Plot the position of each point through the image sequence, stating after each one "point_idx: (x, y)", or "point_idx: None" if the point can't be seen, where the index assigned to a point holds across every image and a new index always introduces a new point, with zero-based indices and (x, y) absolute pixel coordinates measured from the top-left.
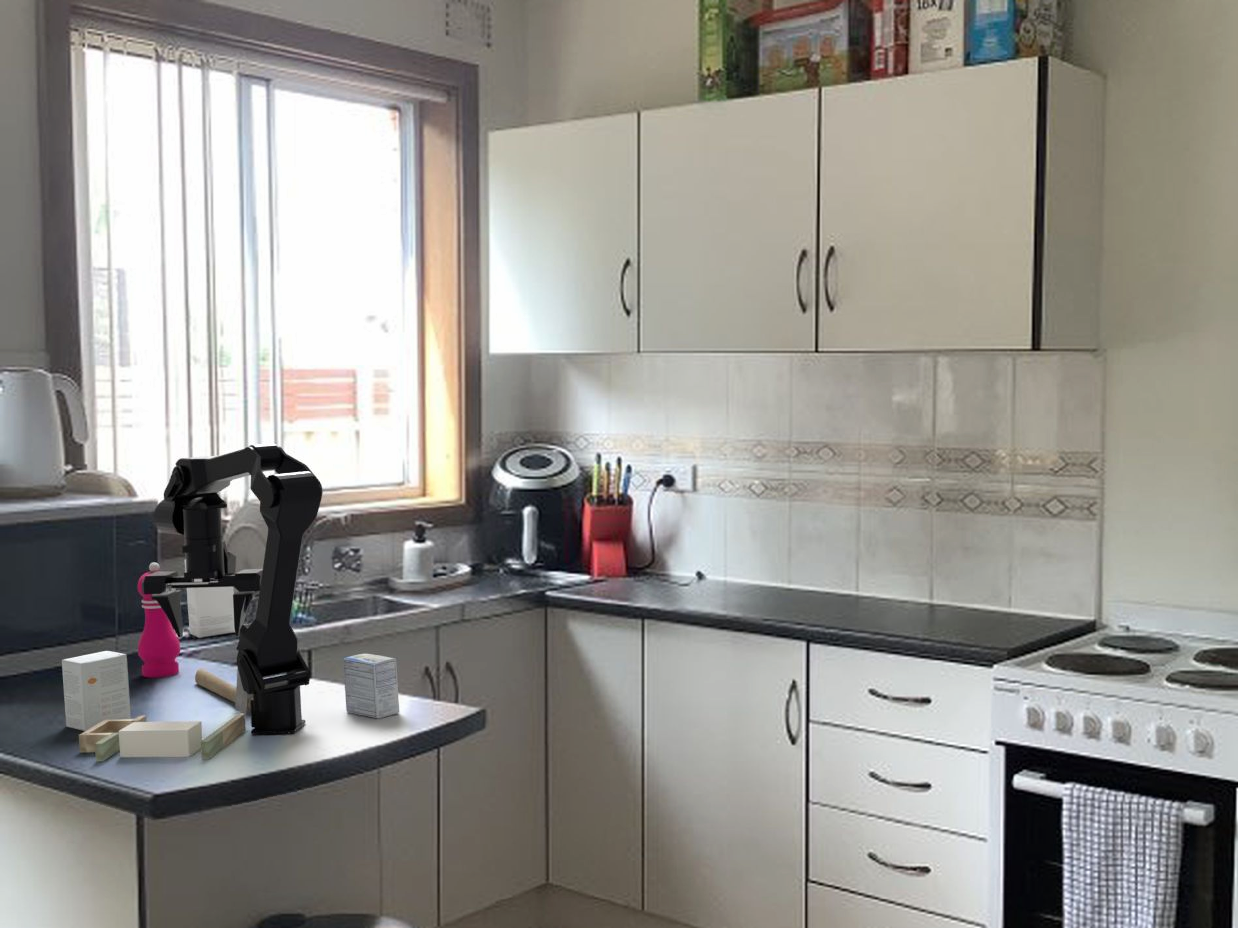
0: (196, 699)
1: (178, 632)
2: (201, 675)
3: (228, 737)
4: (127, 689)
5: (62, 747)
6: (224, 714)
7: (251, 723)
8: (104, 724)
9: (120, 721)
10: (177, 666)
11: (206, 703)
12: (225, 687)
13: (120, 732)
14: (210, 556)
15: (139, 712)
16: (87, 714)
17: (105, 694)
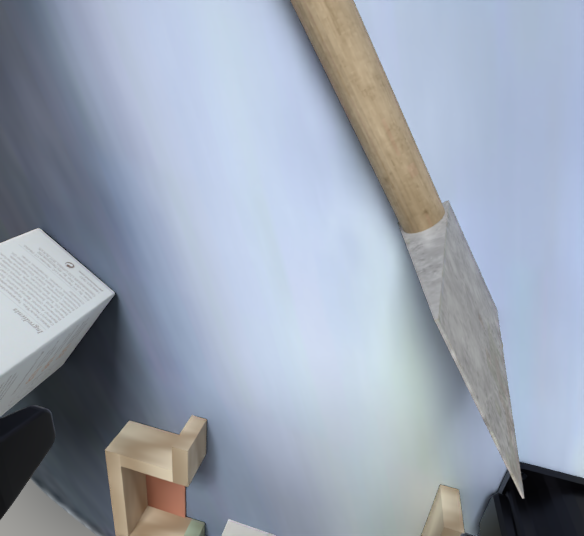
0: (213, 26)
1: (23, 479)
2: None
3: None
4: (49, 345)
5: (87, 465)
6: (371, 303)
7: (481, 533)
8: (124, 481)
9: (148, 472)
10: None
11: (272, 115)
12: (333, 77)
13: None
14: None
15: (97, 200)
16: (36, 385)
17: (21, 385)
